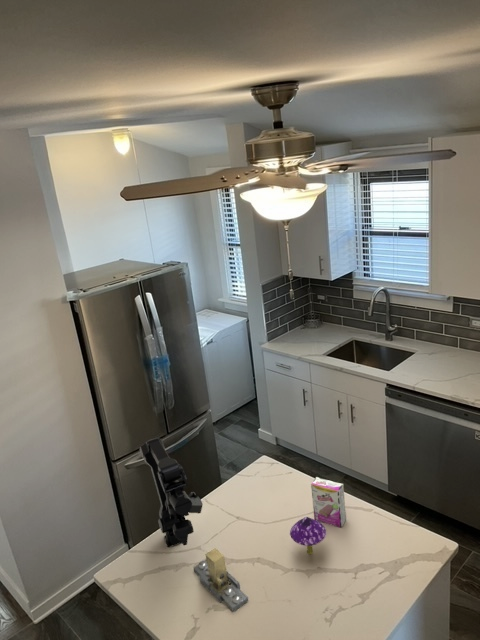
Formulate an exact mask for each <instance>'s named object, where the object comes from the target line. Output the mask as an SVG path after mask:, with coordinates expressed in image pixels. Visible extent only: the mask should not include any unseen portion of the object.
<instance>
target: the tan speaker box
mask: <svg viewBox="0 0 480 640" xmlns="http://www.w3.org/2000/svg"><path fill="white" fill-rule="evenodd" d="M205 560H206V561H207V566H208V572H209V577H210V583H211V585H213V586H214V587H215V588H216V589H217V590H218V591H219V592H221V591H222V590H224V589H225V588H226V587H228V586H230V585H229V584H230V582H228V577H227V572H228V570H227V566H226V561H225V560H226V559H225V555H224V554H223V553H222V552H221V551H220V550H218V549H217V548H216V547H214V548H212V549H211V550H209V551H208V552H207V553H205Z"/></svg>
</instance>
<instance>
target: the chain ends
mask: <svg viewBox="0 0 480 640" xmlns="http://www.w3.org/2000/svg"><path fill="white" fill-rule="evenodd" d="M193 572H194V573H195V574H196V575H197V576H198V577H199V581H200V584H202V586H204V587H205V588H206V589H207V591H209V592H210V594H211V595H212V596H213V597H215V599H216V600H217V601H218V602H219V603H221V604H222V603H224V604H225V605H226V606H227V607H228V608H229V609H230V610H231V611H232V612H235V611H237V610H238V609H239V608H241V607H242V606H243V605H245V604H247V603H248V602H249V597H248V596H247V595H246V594H245V593H244V592H243V591H242V590H241V585H240V584H241V583H240V582H239V581H238V580H237V579H236V578H235V577H234V576H233V575H232V574H231V573H229V571H227V577H228V583H229V584H230V585H229V586H228V587H226V588H225V589H224V590H222V591H221V592H219V591H218V590H217V589H216V588H215V587H214V586H213V585H211V583H210V577H209V572H208V566H207V561H206V559H204V560H201V561H200V562H199V563H198V564H197V565H195V566H194V567H193Z"/></svg>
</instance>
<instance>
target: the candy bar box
mask: <svg viewBox="0 0 480 640" xmlns="http://www.w3.org/2000/svg"><path fill="white" fill-rule="evenodd" d="M310 485H311V487H310V488H311V497H312V505H313V506H312V507H313V517H314V518H313V519H314V520H317V521H319V522H320V523H324V524H327V525H332V526H335V527H336V528H337V527H338V528H342V527H343V526H344V524H345V523H346V521H347V516H346V515H347V514H346V502H345V501H346V500H345V487H344V483H340V482H337V481H332V480H328V479H325V478H321V477H318V476H316V477H315V478H314V480H313V481H311V484H310Z"/></svg>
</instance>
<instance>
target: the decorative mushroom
mask: <svg viewBox="0 0 480 640" xmlns="http://www.w3.org/2000/svg"><path fill="white" fill-rule="evenodd" d="M289 535H290V537H291V540H293V541H294V542H295V543H296V544H298V545H301V546H304V547H305V546H306V548H307V551H306V552H307V554H308V555H312V554H313V553H314V550H313V546H315V545H317V544H319V543H321V542H322V541H323V540H324V539H325V537H326V535H327V529H326V527H325V526H324V525H323V524H322V522H321V521H317V520H315V519H314V518H312V517H310V516H305V517H303V518H301V519H299V520H298V521H296V522H295V523H294V524H293V526H291V528H290V530H289Z"/></svg>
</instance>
